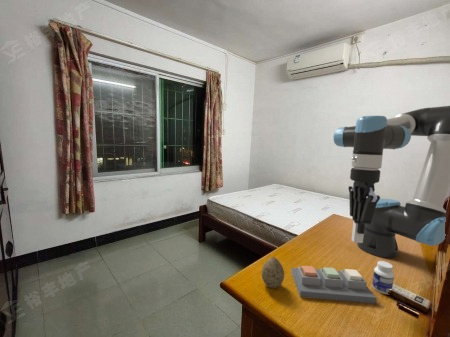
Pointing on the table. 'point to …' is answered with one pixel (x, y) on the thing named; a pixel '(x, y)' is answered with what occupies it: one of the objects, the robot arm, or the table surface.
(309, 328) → the table surface
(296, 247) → the table surface
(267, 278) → the decorative egg
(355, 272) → the cream button
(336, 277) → the sage button
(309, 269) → the terracotta button
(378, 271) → the pill bottle
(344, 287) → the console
